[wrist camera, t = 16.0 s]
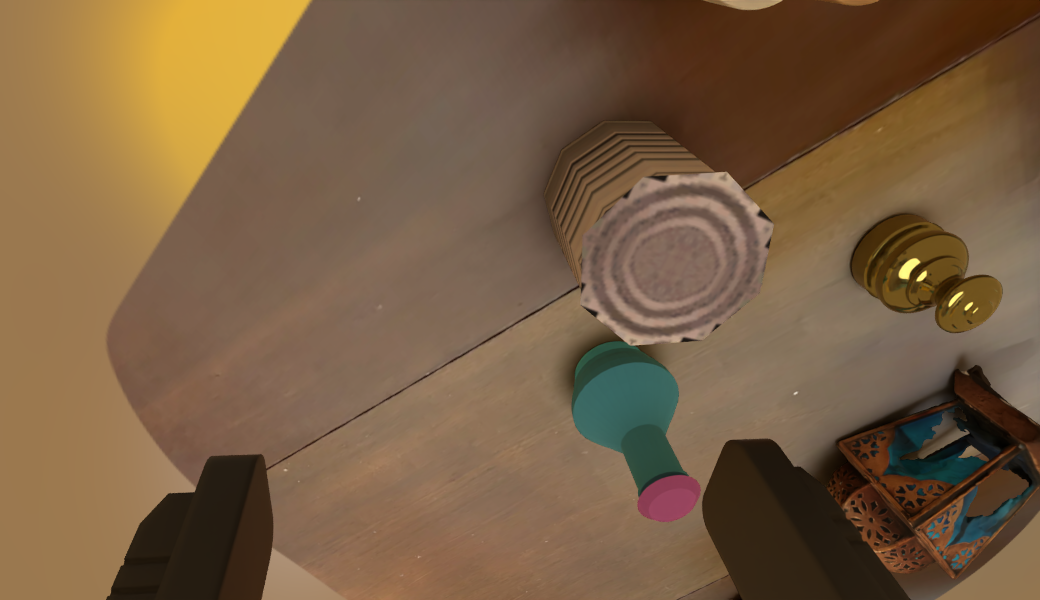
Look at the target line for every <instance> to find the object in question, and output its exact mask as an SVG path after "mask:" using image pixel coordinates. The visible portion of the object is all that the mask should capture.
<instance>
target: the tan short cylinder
mask: <svg viewBox="0 0 1040 600" xmlns="http://www.w3.org/2000/svg"><path fill="white" fill-rule="evenodd" d="M821 1H826V2H832V3H838V4H844V5H850V6H860V5H867V4H871V3H874V2H876V1H879V0H821Z"/></svg>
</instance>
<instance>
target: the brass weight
mask: <svg viewBox="0 0 1040 600" xmlns="http://www.w3.org/2000/svg"><path fill="white" fill-rule="evenodd" d="M968 262H969V253H968V249H967V246H966V245H965V243H964V242H963V240H962V239H961V238H959V237H958V236H956V235H954V234H952V233H949V232H946V231H944V230H943V229H942V228H941V227H940V226H938V225H936V224H934V223H931V222H929V221H927V220H926V219H924V218H922V217H920V216H917V215H912V214H906V215H899V216H896V217H893V218H890V219H888V220H886V221H884V222H882V223H881V224H879V225H878V226H876V227H875V228H874V229H872V230H871V231H870V232H869V233H868V234H867V235H866V236H865V237H864V239H863V240H862V241H861V243H860V244H859V246H858V247H857V249H856V251H855V254H854V257H853V260H852V274H853V277H854V279H855V280H856V282H857V283H858V284H859V285H861V286H862V287H863V288H864V289H866V290H867V291H868V292H869V293H870V294H871V295H872V296H873V297H875V298H878V299H879V300H880V301H881V302H882V303H883V304H884V305H885V306H886V307H887V308H889V309H890V310H892V311H895V312H898V313H916V312H920V311H923V310H926V309H929V308H931V307H934V306H937V307H936V310H935V320H936V323H937V325H938V326H939V327H940V328H941V329H943V330H945V331H947V332H949V333H961V332H965V331H968V330H971V329H973V328H975V327H977V326H979V325H980V324H982V323H983V322H985V321H986V320H987V319H988V318H989V317H990V316H991V315H992V314H993V313H994V312H995V310H996V309H997V307H998V306H999V304H1000V301H1001V299H1002V294H1003V288H1002V285H1001V283H1000V282H999V281H998V280H997V279H995V278H994V277H992V276H989V275H974V276H971V277H968V278H965V279H964V277H965V273H966V270H967V267H968Z"/></svg>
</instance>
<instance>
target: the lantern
mask: <svg viewBox="0 0 1040 600" xmlns="http://www.w3.org/2000/svg"><path fill="white" fill-rule="evenodd" d="M954 374H955V385H954V390H955V394H957V397H956V399H955V400H953V401H950V402H945V403H942V404H940V405H938V406H934V407H931V408H929V409H926V410H923V411H920V412H918V413H915V414H912V415H909V416H907V417H903V418H901V419H898V420H896V421H893V422H890V423H888V424H885V425H882V426H880V427H876V428H875V429H872V430H868V431H866V432H863V433H861V434H858V435H856V436H853V437H849V438H847V439H844V440H841V441H839V442H838V443H837V444H836V446H837V447H838V448H839V449H840V450H841V451H842V453H843V454H844V455H845V456H846V458H847V459H848V463H846V464H844V465H842V466H841V467H840V468H839V469H837V470H836V471H835V472H834V474H833V475H832V477H831V479H830V481H829V484H828V486H827V489H828V491H829V492H830V493H831V495H832V496H833V497H834V499H835V500H836V501H837V503H838V504H839V505H840V507H841V508H842V509H843V511H844V512H845V513H846V518H847V519H850V520H851V521H852V523H853V524H854V525H855V527H856V528H857V529H858V531H859V532H860V533H861V535H862V540H863V541H867V542H868V544H869V545H870V546H871V548H872V549H873V550H874V552H875V553H876V554H877V556H878V557H879V558H880V560H881V561H882V562H883V564H884V565H885V566H886V568H887V569H888V570H889V571H892V572H899V573H912V572H917V571H920V570H922V569H924V568H926V567H928V566H930V565H931V564H933V563H934V562H936V563H937V564H938V565H939V566H940V567H941V568H942V569H943V570H944V571H945V572H946V573H947V574H948V575H949V576H950V577H951V578H952V579H956V578H957V577H958V576H959V575H960V574H961V573H962V572H963V571H964V570H965V569H966V568H967V566H968V565H969V564H970V563H971V562H972V561H973V560H974V559H975V558H976V557H977V556H978V555H979V554H980V553H981V551H982V550H983V549H984V548H985V547H986V546H987V545H988V544H989V543H990V542H991V540H992V539H993V538H994V537H995V536H996V535H997V534H998V532H999V531H1000V530H1001V529H1002V528H1003V527H1004V526H1005V525H1006V524H1007V522H1008V521H1009V520H1010V519H1011V518H1012V517H1013V516H1014V515H1015V514H1016V513H1017V512H1018V511H1019V510H1020V508H1021V507H1022V506H1023V505H1024V504H1025V503H1026V502H1027V501H1028V499H1029V498H1030V497H1031V496H1032V495H1033V494H1034V493H1035V492H1036V491H1037V490H1038V489H1039V488H1040V425H1039V424H1037V423H1036V422H1035V421H1033V420H1032V419H1031V418H1029V417H1028V416H1026V415H1025V414H1023V413H1022V412H1020V411H1019V410H1017V409H1016V408H1014V407H1013V406H1012V405H1010V404H1009V403H1008V402H1007V401H1006V400H1005V399H1004V398H1002V397H1001V396H1000V395H999V394H998V393H997V392H996V391H994V390H993V389H992V388H991V387H990V385H991V384H990V382H989V381H988V379H987V378H986V377H985V375H984V374H983V371H982V368H981V367H980V366H978V365H975V366H974V367H973V368H971V369H969V370H967V371H964V372H962V371H960V370H959V369H957V370H956V371H955V373H954ZM958 407H960V408H961V409H962V410H963V413H964V414H965V415H966V419H967V421H964V420H962V419H961V418H960V417H958V418H953V420H955V421H957V426H958V428H959V429H960V431H964V432H966V431H965V430H964V429H966V430H968V431H969V432H970V433H969V434H968V435H965V436H963V437H961V438H959V439H958V440H955V441H954V442H952V443H951V444H948V445H946V446H945V447H944V448H941V449H940V450H937V451H935V452H934V453H932V454H930V455H928V456H927V457H925V458H924V459H920V458H917V459H915V460H909V459H904V460H900V459H899V458H900V457H902V456H904V455H905V454H907V453H910V452H914V451H918V450H919V449H920V448H921V447H922V444H923V442H924V440H926V439H932V438H933V435H934V434H936V432H935V431H933V430H932V429H931V428H932V427H933V426H936V425H940V424H941V422H942V420H943V418H942V414H943V413H944V411H947V412H949V413H955V408H958ZM971 445H972V446H973V447H974V448H976V449H977V450H978V451H980V452H981V453H982V454H984V455H985V456H987V457H988V458H989V461H988V462H987V461H983V460H981V459H979V458H978V457H973V456H970V457H968V458H958V457H959V456H961V455H962V454H963V452H964V451H965V449H966V448H967V447H968V446H971ZM1000 469H1003V470H1007V471H1008V470H1009V469H1010V470H1011V471H1012V472H1013V473H1015V474H1017V475H1019V477H1021V478H1022V479H1026V480H1027V482H1029V487H1028V488H1027V489H1026V490H1025V491H1024V492H1023V493H1022V494H1021V495H1017V497H1016V498H1013V499H1008V500H1007V501H1005V502H1004V503H1002V505H1001V506H1000V507H999V508H998V509H996V510H995V511H993V514H991V515H989V516H985V517H983V515H980V516H976V517H967V516H966V513H967V511H968V508H969V505H970V503H971V502H972V501H973V499H974V497H975V496H976V493H977V486H978V485H980V484H981V483H983V481H985V480H986V479H987V478H989V477H990V476H991V475H993V474H995V472H997V471H998V470H1000Z"/></svg>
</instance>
